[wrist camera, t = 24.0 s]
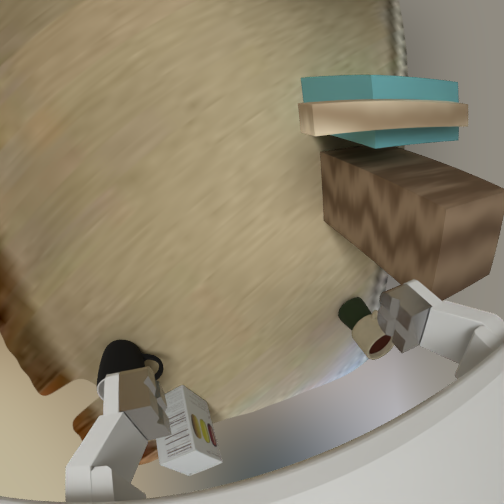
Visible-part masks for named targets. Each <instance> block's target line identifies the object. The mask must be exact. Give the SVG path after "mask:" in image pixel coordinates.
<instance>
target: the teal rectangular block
mask: <svg viewBox="0 0 504 504" xmlns="http://www.w3.org/2000/svg"><path fill="white" fill-rule="evenodd" d="M301 84H302V92H303V101H304V103H307V102H319V101H334V100H356V99H418V100H439V101H452V102H458V103H459V101H458V82H452V81H444V80H437V79H427V78H417V77H404V76H386V75H340V76H319V77H305V78H301ZM458 132H459V126H451V127H416V128H398V129H383V130H370V131H359V132H349V133H340V134H331V135H332V136H336V137H339V138H343V139H346V140H349V141H353V142H356V143H359V144H363V145H366V146H369V147H372V148H375V149H376V148H384V147H392V146H401V145H410V144H420V143H430V142H441V141H455V140H458V136H459V135H458V134H459V133H458Z"/></svg>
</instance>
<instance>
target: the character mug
mask: <svg viewBox="0 0 504 504" xmlns="http://www.w3.org/2000/svg"><path fill="white" fill-rule="evenodd" d="M377 315H378V311H377V310H374V311H373V313H371V312H370V310H369V309H368V307H367V306H366V304H365V303H364V302H363V300H362V299H360V298H359V297H357V298H353V299H351V300H349V301H347V302H346V303H345V304H343V305H342V307H341V308H340V310H339V314H338V316H339V318H340V320H341V321H342V322H343V323H344V324H345V325H346V326H348V327H349V328H350V329H351V330H352V337H353V339H354V340H355V342H356V343H357V344H358V345H359V347H360V348H361V349H362V351H363V352H364V353H365V354H366V356H367V357H368V358H369V359H372V360H375V359H378V358H380V357H382V356H384V355H385V354H386V353H388V352H389V351H390V350H391V349H392V347H393V346H394V344H393V343H392V337H391V336H389V335H386V334H384V332H383V331H382V330H381V328H380V326H379V324H378V320H377Z"/></svg>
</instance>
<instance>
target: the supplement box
mask: <svg viewBox="0 0 504 504" xmlns="http://www.w3.org/2000/svg"><path fill="white" fill-rule="evenodd" d="M165 398H166V402H167V409H166V411H165V413H166V415H167V416H168V418H169V422H170V428H171V434H172V435H170V436H166V437H161V438H157V439H156V441H157V449H158V456H159V463H160V465H161V466H164V467H167V468H170V469H173V470H175V471H178V472H180V473H183V474H186V475H188V476H190V475H193V474H195V473H198V472H201V471H203V470H206V469H208V468H210V467H213V466H216V465H218V464H220V463H222V462H223V461H222V457H221V454H220V451H219V447H218V444H217V440H216V436H215V432H214V429H213V425H212V421H211V417H210V413H209V409H208V405H207V402H206V401H205V400H203V399H202V398H200V397H199V396H198V395H196V394H195V393H193V392H192V391H191V390H189V389H188V388H186V387H185V386H184V385H181V386H179V387H177V388H175V389H174V390H172V391H170V392H168V393H166V394H165Z"/></svg>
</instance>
